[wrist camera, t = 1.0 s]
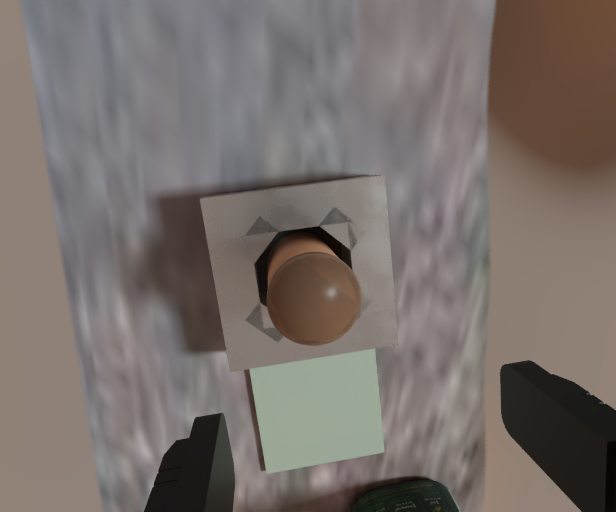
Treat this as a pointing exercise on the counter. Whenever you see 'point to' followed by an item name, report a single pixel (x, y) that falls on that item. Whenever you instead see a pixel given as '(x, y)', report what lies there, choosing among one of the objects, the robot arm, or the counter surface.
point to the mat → (318, 410)
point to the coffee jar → (408, 498)
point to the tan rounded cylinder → (310, 291)
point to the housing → (288, 216)
